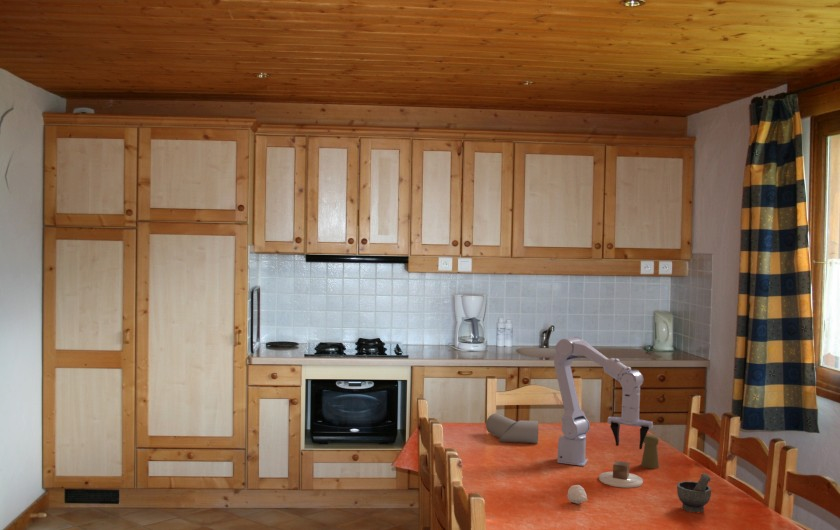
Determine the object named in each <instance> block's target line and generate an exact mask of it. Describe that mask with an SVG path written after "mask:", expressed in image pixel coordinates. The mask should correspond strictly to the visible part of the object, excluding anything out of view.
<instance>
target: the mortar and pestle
mask: <svg viewBox="0 0 840 530" xmlns="http://www.w3.org/2000/svg"><path fill="white" fill-rule="evenodd" d="M711 480H712V479H711V476H710V475H709V474H708V473H702V474H701V475H700V479H699V480H698V482H697V481H689V480H688V481H687V480H685V481H684V480H682V481H679V482H676V491H677V497H678V498H679V501H681V503H682V508H683V509H684V510H683V509H682V510H683V511H685V510H686V512H688V511H690V512H689V513H692V512H701V513H704V512H705V510H704V509H705V508H704V506H705V505H708V503H709V502H710V499H711V495H712V488H711V486H710V485H708V484H709V482H711ZM703 511H704V512H703Z"/></svg>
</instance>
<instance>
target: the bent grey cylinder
mask: <svg viewBox="0 0 840 530" xmlns="http://www.w3.org/2000/svg"><path fill="white" fill-rule="evenodd" d="M485 428H486V431H487V432H488V433H489V434H491V435H493V436H495V437H497V438H499V441H498V442H500V443H501V442H502V443H520V444H521V443H523V444H538V442H539V421H538V420H518V421H515V420H514V419H511V418H509V417H506V416H504V415H501V414H500V413H493V414H491V415H490V416H488V418H487V419H486V421H485Z"/></svg>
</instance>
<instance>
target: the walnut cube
mask: <svg viewBox="0 0 840 530" xmlns="http://www.w3.org/2000/svg"><path fill="white" fill-rule="evenodd" d="M612 472H613V478H617V479H624V480H627V479H628V477H629V473H630V462H626V461H621V460H619V461H618V460H615V461H614V463H613V465H612Z"/></svg>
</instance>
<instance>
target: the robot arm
mask: <svg viewBox="0 0 840 530" xmlns="http://www.w3.org/2000/svg"><path fill="white" fill-rule="evenodd" d="M554 350H555V354H554V360H553V363H554V364H553V365H554V369H555V370H554V371H555V374H556V378H557V383H558V388H559V391H560V396H561V400H562V401H561V402H562V406H563V411H564V412H563V414H562V416H561V423H562V424H561V432H562V434H563V435H559V437H558V442H557V461H556V463H558V464H566V465H572V466H573V465H574V466H580V467H584V466H585V465H586V463H588V461H589V458H586V447H587V446H586V444H587V443H586V440H587V433H589V431H590V427H591V426H590V425H591V424H590V421H589V420H588V419H587V417H586V413H585V412H584V411H583V410H582V409H581V407H580V403H579V399H578V395H577V393H578V392H577V390H576V384H575V380H574V377H573V372H572V367H571V364H572V363H573V362H574V360H575V359H576V358H577V357H580V356H582V357H585V358H587V359H589V360H591V361H592V362H594V363H596V364H598V365H599V366H601V367H602V368H603V372H604V373H605V374H607V375H609V376H610V377H611V378H613V379H615V380H616V381H617V382H619V383H620V386H621V387H622V389H621V390H622V394H621V395H622V396H621V397H622V399H621V401H622V402H621V416H608V417H607V424H610V426H609V427H610V430H611V431H612V434H613V437H614V440H615V446H616V447H619V445H620V428H621V425H623V426H632V427H639V428H640V429H639V444H638V445H639V450H642V449H643V445H644V439H645V436H646V435H648V432H649V430H652V429H653V427H654V423H653V421H650V420H644V419H640V402H641V386H642V385H643V384H644V381H645V380H644V375H643V374H642V373H641V371H639V369H632V367H630V366H627V365H625V364H624V363H622V362H621V361H620V359H619V358H614V357H611V358H608V357H607V356H605V355H604V354H603V353H601V352H600V351H598V350H597V349H596V348H595V347H593V346H592V345H591V344H589V343H588V341H586V340H584V339H582V338H581V337H579V336H573V337H571V338H562V339H560V340H558V342H557V343H556V345H555V346H554Z"/></svg>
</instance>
